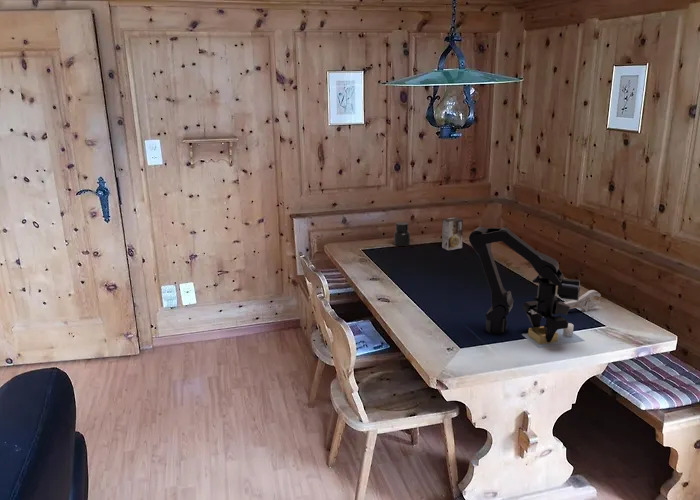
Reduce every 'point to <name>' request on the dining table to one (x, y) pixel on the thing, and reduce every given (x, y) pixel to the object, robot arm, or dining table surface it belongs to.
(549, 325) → the robot arm
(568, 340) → the board
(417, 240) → the dining table surface
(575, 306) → the wrench
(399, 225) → the ink bottle
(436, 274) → the dining table surface
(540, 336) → the tan square tray
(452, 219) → the coffee box
